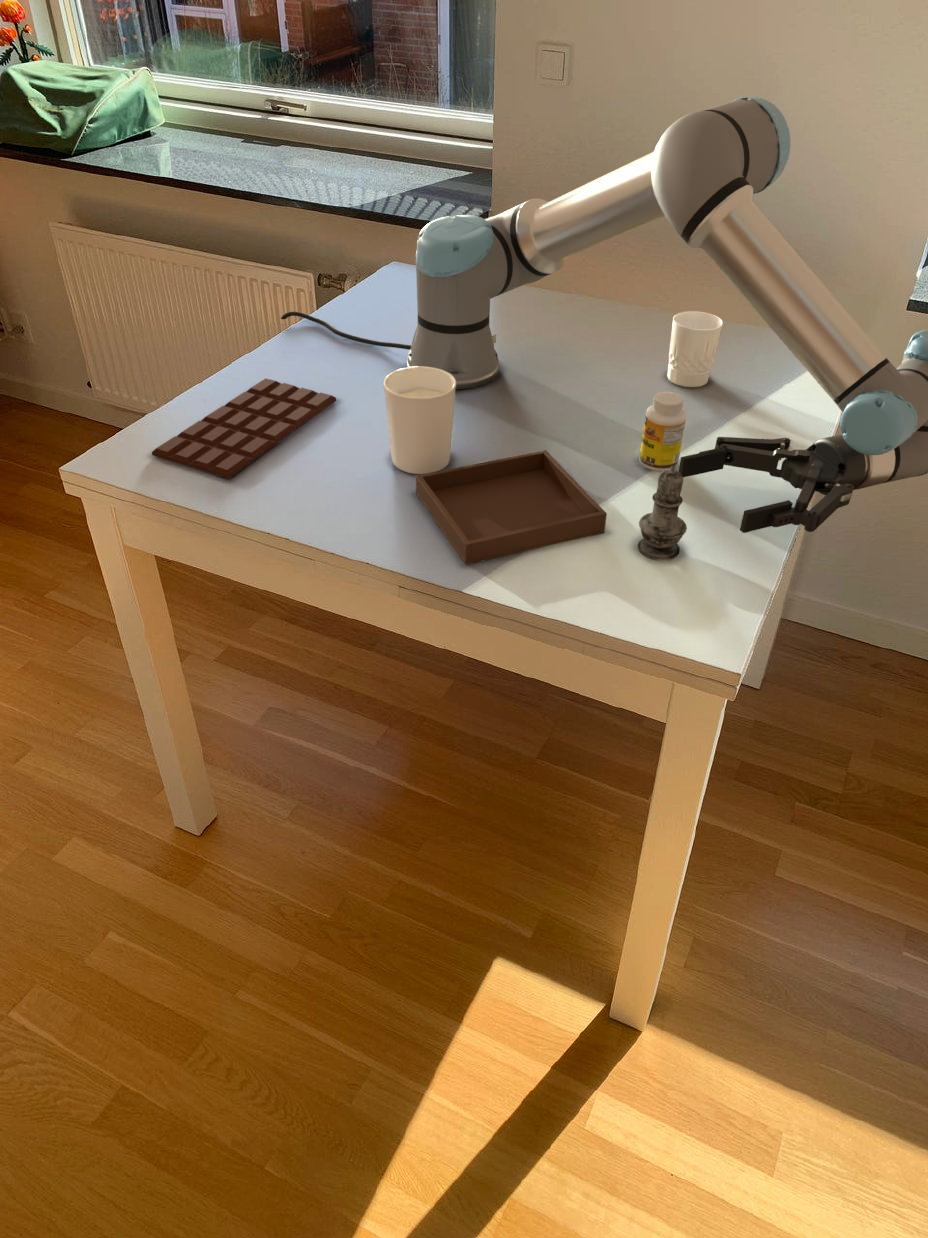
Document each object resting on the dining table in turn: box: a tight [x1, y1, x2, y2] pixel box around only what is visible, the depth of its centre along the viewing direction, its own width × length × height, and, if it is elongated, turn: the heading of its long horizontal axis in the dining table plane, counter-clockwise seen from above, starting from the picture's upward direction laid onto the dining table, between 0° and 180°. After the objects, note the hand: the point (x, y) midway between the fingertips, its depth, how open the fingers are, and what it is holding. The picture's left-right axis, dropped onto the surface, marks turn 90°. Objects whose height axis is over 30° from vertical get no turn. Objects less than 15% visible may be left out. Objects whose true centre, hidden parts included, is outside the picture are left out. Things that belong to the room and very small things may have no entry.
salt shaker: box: [637, 465, 688, 562], centre depth 118 cm, size 6×6×12 cm
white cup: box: [666, 310, 724, 388], centre depth 157 cm, size 8×8×10 cm
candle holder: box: [383, 366, 457, 475], centre depth 134 cm, size 10×10×12 cm
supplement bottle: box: [638, 391, 687, 472], centre depth 135 cm, size 6×6×10 cm
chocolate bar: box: [151, 378, 337, 480], centre depth 144 cm, size 27×14×1 cm, turn 153°
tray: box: [415, 449, 608, 565], centre depth 126 cm, size 19×17×3 cm
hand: (710, 493), depth 119 cm, fingers open, 13 cm apart
